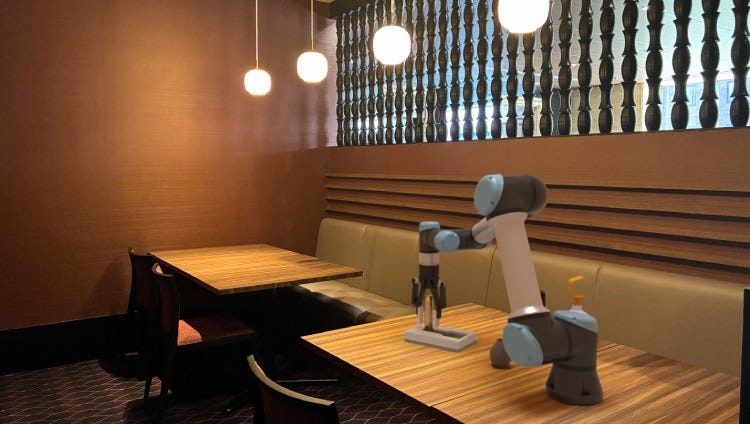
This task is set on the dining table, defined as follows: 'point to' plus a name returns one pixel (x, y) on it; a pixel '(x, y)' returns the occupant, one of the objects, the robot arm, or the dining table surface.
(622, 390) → the dining table surface
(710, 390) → the dining table surface
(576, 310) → the soap bottle
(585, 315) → the robot arm
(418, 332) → the board
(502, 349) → the vase
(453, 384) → the dining table surface
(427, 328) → the peg
